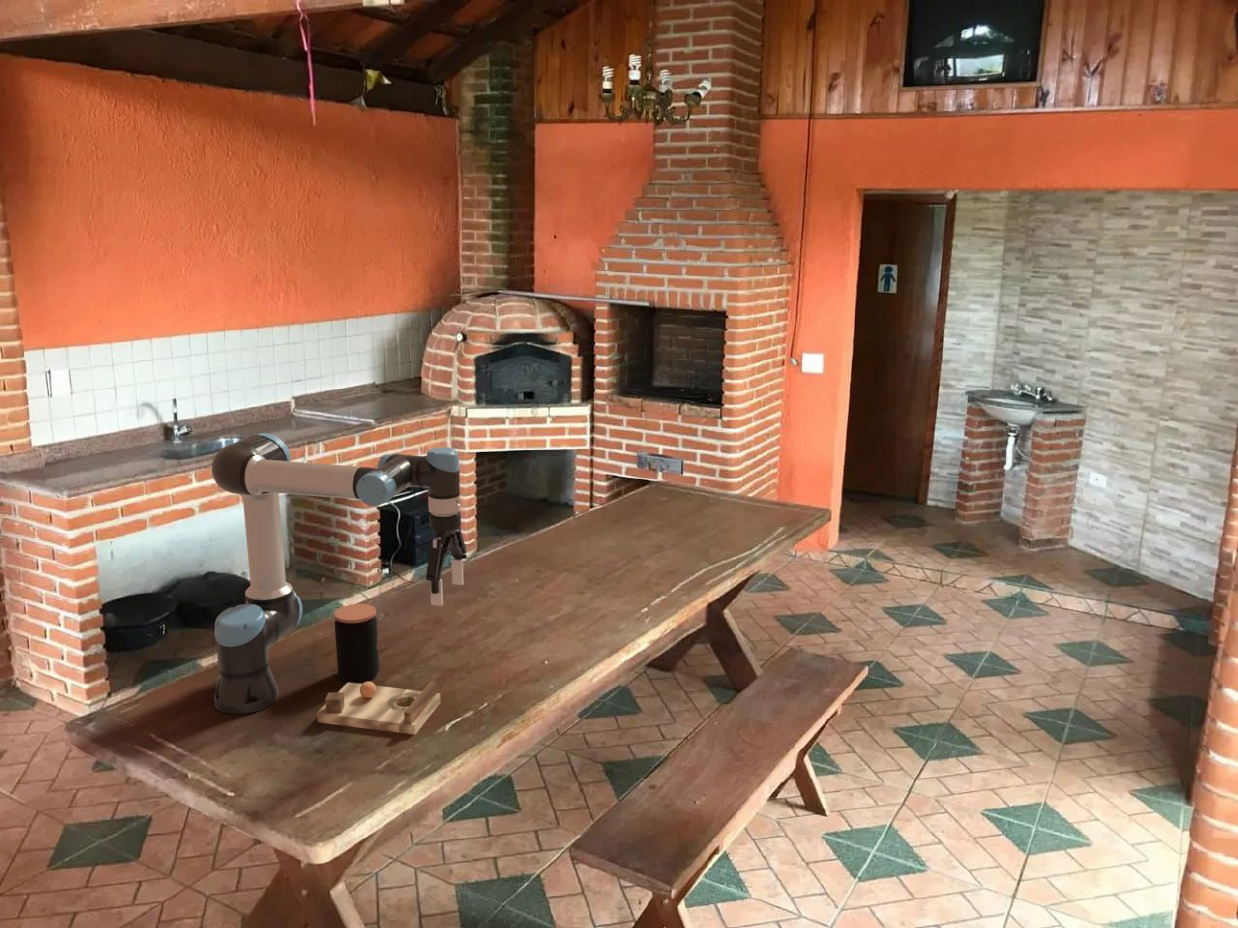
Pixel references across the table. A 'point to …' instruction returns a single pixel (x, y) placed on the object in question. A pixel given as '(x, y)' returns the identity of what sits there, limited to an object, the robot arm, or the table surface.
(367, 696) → the ball
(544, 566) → the table surface
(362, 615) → the coffee jar
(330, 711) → the walnut cube
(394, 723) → the board
